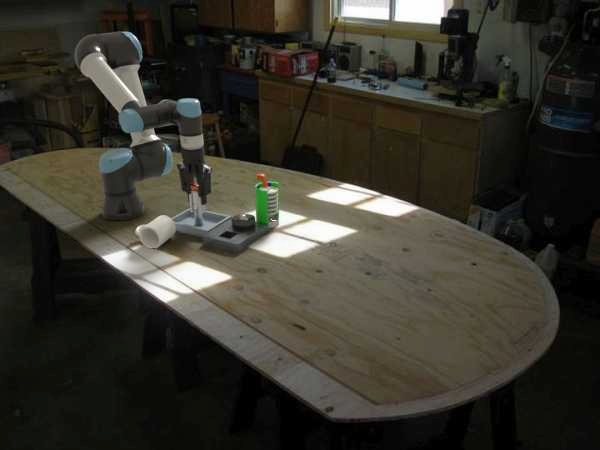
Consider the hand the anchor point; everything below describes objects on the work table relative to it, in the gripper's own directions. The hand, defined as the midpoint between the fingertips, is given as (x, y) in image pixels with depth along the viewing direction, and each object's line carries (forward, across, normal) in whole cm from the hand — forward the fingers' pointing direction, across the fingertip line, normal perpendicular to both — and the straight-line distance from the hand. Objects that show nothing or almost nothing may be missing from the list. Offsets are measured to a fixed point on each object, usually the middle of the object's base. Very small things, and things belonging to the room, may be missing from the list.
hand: (198, 211), depth 209 cm
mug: (+6, -6, -17) cm, 19 cm away
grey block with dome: (+6, +17, -2) cm, 18 cm away
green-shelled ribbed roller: (+6, +20, +13) cm, 25 cm away
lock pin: (+4, 0, 0) cm, 4 cm away
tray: (+6, 0, 0) cm, 6 cm away
